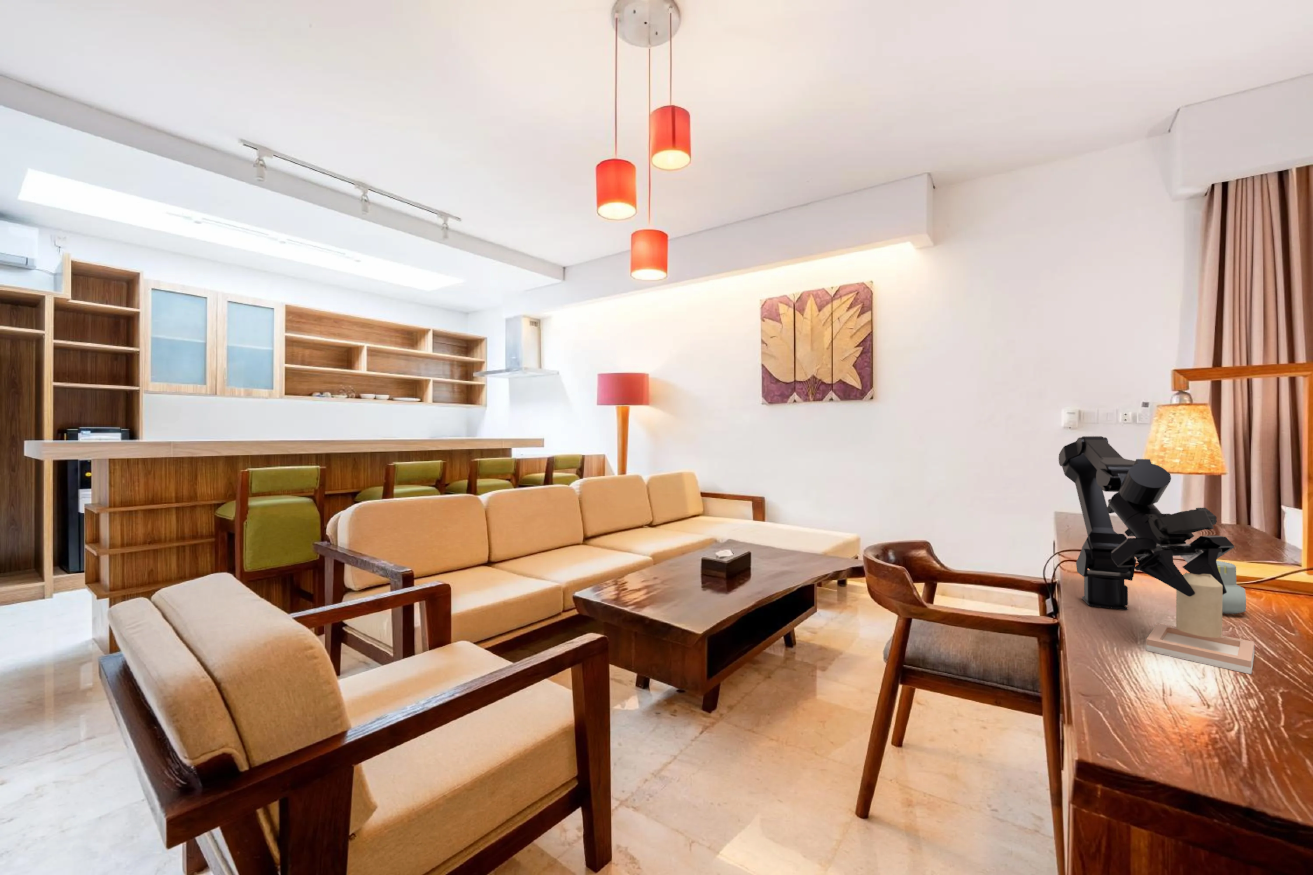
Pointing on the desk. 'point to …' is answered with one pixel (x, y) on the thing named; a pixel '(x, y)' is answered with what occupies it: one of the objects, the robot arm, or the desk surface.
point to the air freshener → (1231, 590)
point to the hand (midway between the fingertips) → (1208, 594)
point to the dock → (1202, 648)
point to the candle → (1200, 606)
